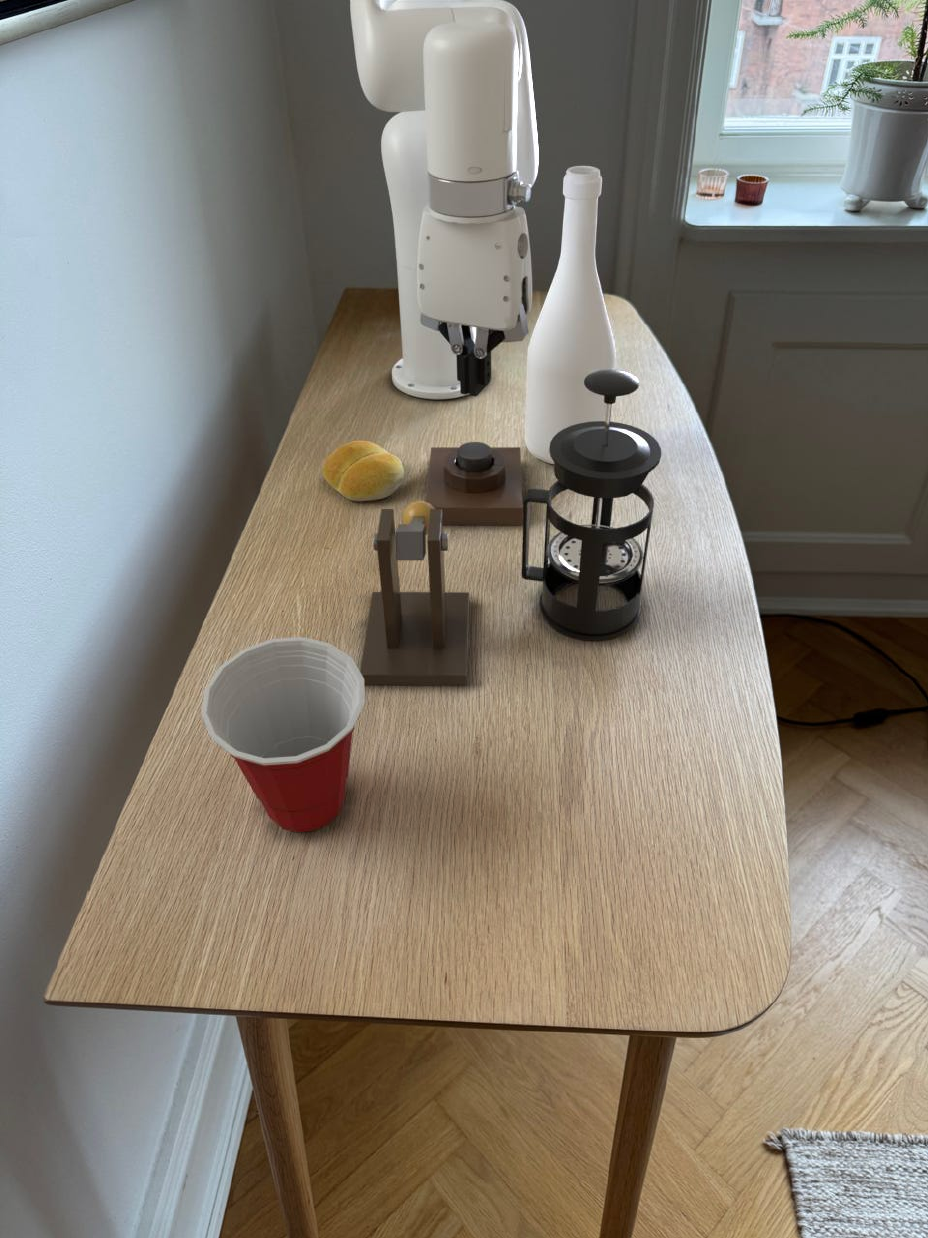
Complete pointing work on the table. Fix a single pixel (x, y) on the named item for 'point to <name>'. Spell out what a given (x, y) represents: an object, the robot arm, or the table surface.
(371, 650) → the bracket
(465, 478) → the button block
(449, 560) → the table surface
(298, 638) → the plastic cup
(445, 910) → the table surface
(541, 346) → the wine bottle
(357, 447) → the bread roll
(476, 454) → the button
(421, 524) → the grey lever with knob
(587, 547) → the french press
